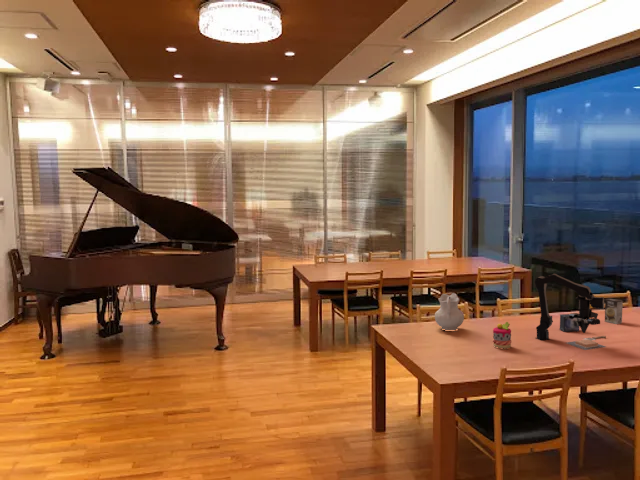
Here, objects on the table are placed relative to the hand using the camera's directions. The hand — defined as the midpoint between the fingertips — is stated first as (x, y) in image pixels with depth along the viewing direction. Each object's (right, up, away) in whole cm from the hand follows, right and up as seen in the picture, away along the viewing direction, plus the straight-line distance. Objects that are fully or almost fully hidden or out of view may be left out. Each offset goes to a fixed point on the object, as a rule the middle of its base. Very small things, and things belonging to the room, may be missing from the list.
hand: (584, 332), depth 318 cm
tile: (0, -6, +2) cm, 6 cm away
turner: (+12, -6, +12) cm, 18 cm away
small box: (+7, -5, +33) cm, 34 cm away
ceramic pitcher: (-70, -6, +44) cm, 83 cm away
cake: (-48, -9, +2) cm, 49 cm away
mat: (+1, -8, 0) cm, 8 cm away
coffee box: (+45, -2, +50) cm, 68 cm away
